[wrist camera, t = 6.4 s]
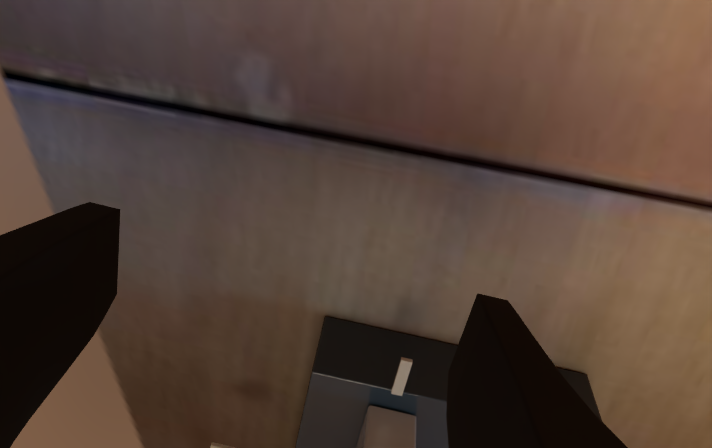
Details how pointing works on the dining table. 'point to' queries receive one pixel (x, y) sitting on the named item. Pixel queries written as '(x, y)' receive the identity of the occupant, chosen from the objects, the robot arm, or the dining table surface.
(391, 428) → the grey block
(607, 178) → the dining table surface
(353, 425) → the dark blue square slab
